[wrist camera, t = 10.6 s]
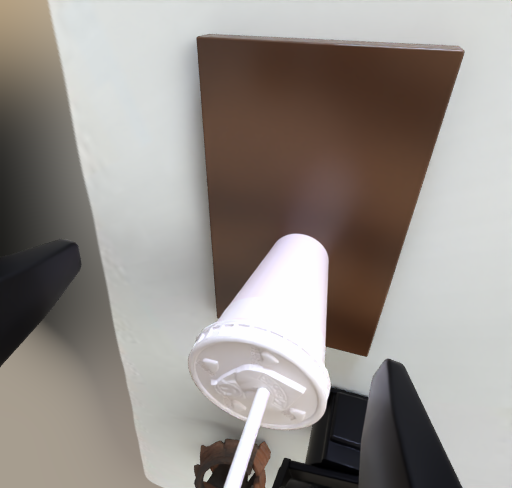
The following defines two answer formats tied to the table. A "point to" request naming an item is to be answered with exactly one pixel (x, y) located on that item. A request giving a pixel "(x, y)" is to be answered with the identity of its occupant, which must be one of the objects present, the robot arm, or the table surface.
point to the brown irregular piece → (221, 460)
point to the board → (319, 159)
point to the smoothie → (269, 347)
